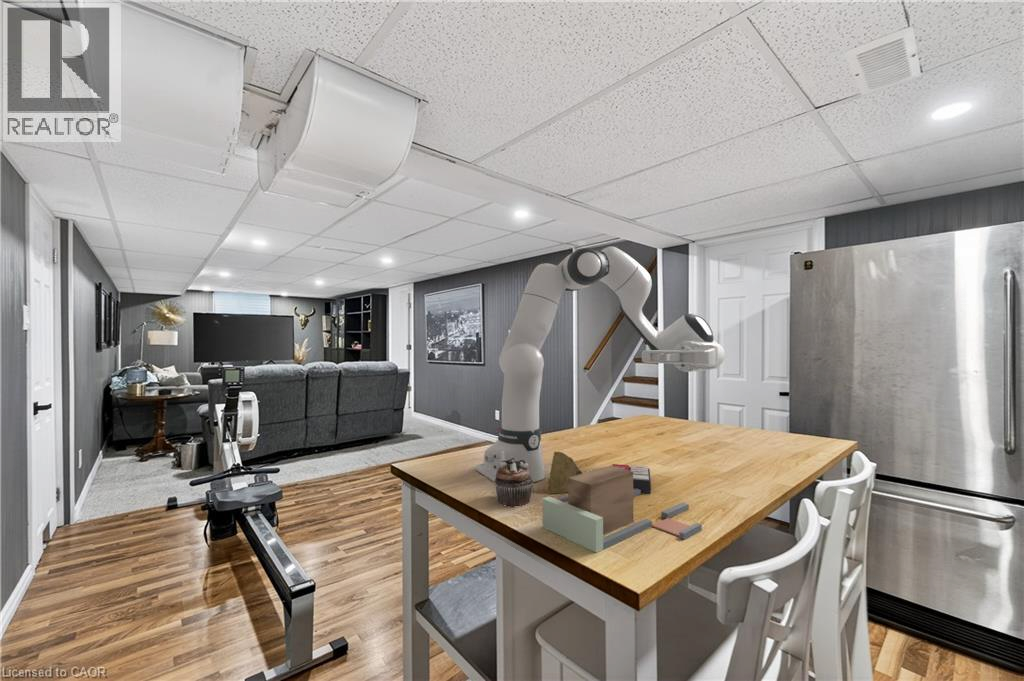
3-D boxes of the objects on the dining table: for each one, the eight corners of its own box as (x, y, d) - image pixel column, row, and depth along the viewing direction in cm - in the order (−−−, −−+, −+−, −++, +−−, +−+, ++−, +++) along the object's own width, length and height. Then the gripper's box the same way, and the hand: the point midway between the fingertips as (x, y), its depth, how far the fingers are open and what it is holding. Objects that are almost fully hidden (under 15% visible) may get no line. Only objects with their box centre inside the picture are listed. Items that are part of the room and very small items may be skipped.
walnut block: (568, 530, 89) (568, 477, 89) (611, 513, 98) (610, 465, 98) (590, 541, 84) (590, 484, 84) (633, 522, 93) (633, 471, 93)
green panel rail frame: (519, 516, 96) (519, 489, 96) (612, 485, 117) (612, 463, 117) (630, 569, 73) (630, 534, 73) (721, 519, 94) (720, 492, 94)
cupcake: (486, 503, 104) (486, 462, 104) (508, 491, 112) (508, 453, 112) (519, 511, 99) (519, 468, 99) (540, 498, 107) (540, 458, 107)
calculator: (649, 465, 125) (650, 478, 110) (649, 480, 124) (650, 495, 110) (610, 462, 128) (607, 474, 113) (610, 477, 127) (607, 491, 113)
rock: (589, 475, 119) (554, 467, 121) (591, 455, 113) (554, 448, 116) (583, 510, 110) (545, 501, 113) (585, 490, 105) (545, 482, 108)
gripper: (656, 345, 132) (629, 345, 123) (723, 345, 116) (698, 345, 108) (656, 366, 132) (629, 367, 123) (723, 368, 116) (698, 370, 107)
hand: (662, 357), depth 115 cm, fingers closed
